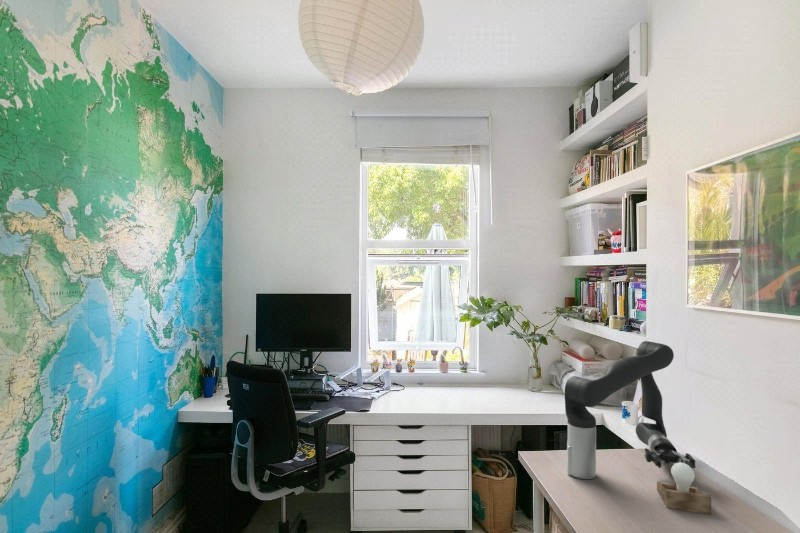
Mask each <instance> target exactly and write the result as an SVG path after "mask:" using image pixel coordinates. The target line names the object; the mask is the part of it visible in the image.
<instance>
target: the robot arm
mask: <svg viewBox="0 0 800 533" xmlns="http://www.w3.org/2000/svg"><path fill="white" fill-rule="evenodd" d="M674 356H675V354H674V350H673V349H672V348H671V346H669V345H667V344H663V343H660V342H653V341H648V340H644V341H642V342H640V344H639V345H638V347H637V355H635V356H633V355H632V356H626V357H621V358H619V359H617V360H614V361H613V362H611V363H609V364H608V365H607V366H606V368H605V369H604V373H603V376H602V377H600V378H596V379H588V378H584V377H581V376H575V375H574V376H569V378H568V379H567V380H566V382H565V386H564V407H565V408H564V411H565V412H564V413H565V415H566V419H567V440H566V470H567V475H568V476H572V477H574V478H577V479H582V480H593V479H595V478H596V477H597V420H596V417H595V416H594V415H593V413H591V412H590V411H589V410H588V409H587V408H593V407H596V406H598V405H599V404H601V403H602V402H604V400H606V399H607V398H609V397H610V396H612V395H613V394H615V393H617V392H618V391H619V390H621V389H623V388H625V387H627V386H629V385H631V384H632V383H634V382H636V381H637V380H640V383H641V384H640V386H641V415H642V416H643V417H644V418H646V419H649V420H652V421H654V422H655V423H651V422H639V423H637V425H636V426H635V433H636V436H637V439H638V440H639V441H640V442H642V443H643V444H645V446H648V448H644V458H645V460H646V462H648V463H651V462H652V463H653V464H654V465H655V466H656V467H658V468H659V469H661V468H662V464H673V465H674V464H676V463H685V464H687V465H689V466H690V467H691V468H692V469H693V470H694V469H696V460H695V458H694V457H693V456H692V455H691V454H690V453H684V454H685V455H682V454H680V453H679V452H678V451H677V449H676V447H675V446H674V444H673V443H672V442H671V440H669V439H668V436H667V435H668V433H667V431H666V428H665V424H664V420H663V419H664V418H663V396H662V392H661V391H660V388H659V386H658V384H657V383H656V380H655V378H654V376H653V373H655V372H657V371H660V370H663V369H666V368H667V367H669V366H670V365H671V364H672V362H673V360H674V358H675V357H674Z"/></svg>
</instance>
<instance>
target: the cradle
mask: <svg viewBox="0 0 800 533" xmlns="http://www.w3.org/2000/svg"><path fill="white" fill-rule="evenodd" d="M656 490H657V493H658V495H659V496H660V498H661V500H662V502H663V504H664V505H665V508H667V509H674V510H682V511H687V512H693V513H698V514H700V513H701V514H706V515H712V496H711V495H710V494H704V493H702V491H701V489H699V487H697V486H692V485H690V487H689V492H684V491H678V490H677V485H676V483H670V482H669V483H668V482H662V481H657V482H656Z"/></svg>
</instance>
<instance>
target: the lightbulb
mask: <svg viewBox="0 0 800 533" xmlns="http://www.w3.org/2000/svg"><path fill="white" fill-rule="evenodd" d="M670 473H671V476H672V478H673V480H674V481H675V484H676V485H677V490H678V491H684V492H689V487H690V486H692V484H693V482H694V481H695V478H696V477H695V476H696V475H695V472H694V468H693V469H692V468H691V467H690V466H689V465H687V464H685V462H684V463H676V464H674V463H673V465H672V466H671V468H670Z"/></svg>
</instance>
